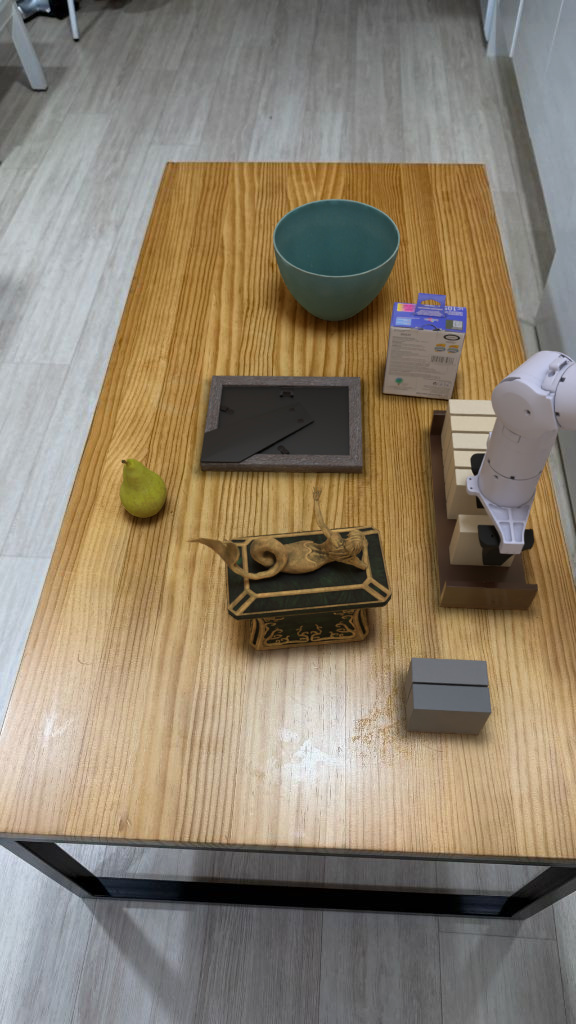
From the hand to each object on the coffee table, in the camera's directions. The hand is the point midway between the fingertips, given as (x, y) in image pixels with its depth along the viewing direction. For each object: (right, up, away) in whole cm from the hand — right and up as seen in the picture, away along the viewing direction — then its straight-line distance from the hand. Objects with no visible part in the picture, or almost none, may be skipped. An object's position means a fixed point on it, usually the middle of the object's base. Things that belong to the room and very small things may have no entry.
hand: (488, 533), depth 84 cm
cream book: (0, -3, +4) cm, 5 cm away
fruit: (-41, +3, +10) cm, 42 cm away
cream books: (+1, +7, +11) cm, 13 cm away
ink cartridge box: (-4, +21, +22) cm, 30 cm away
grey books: (-7, -18, -6) cm, 20 cm away
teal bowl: (-16, +35, +32) cm, 50 cm away
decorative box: (-22, -9, +1) cm, 24 cm away
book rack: (+1, +2, +9) cm, 9 cm away
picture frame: (-23, +14, +18) cm, 33 cm away
